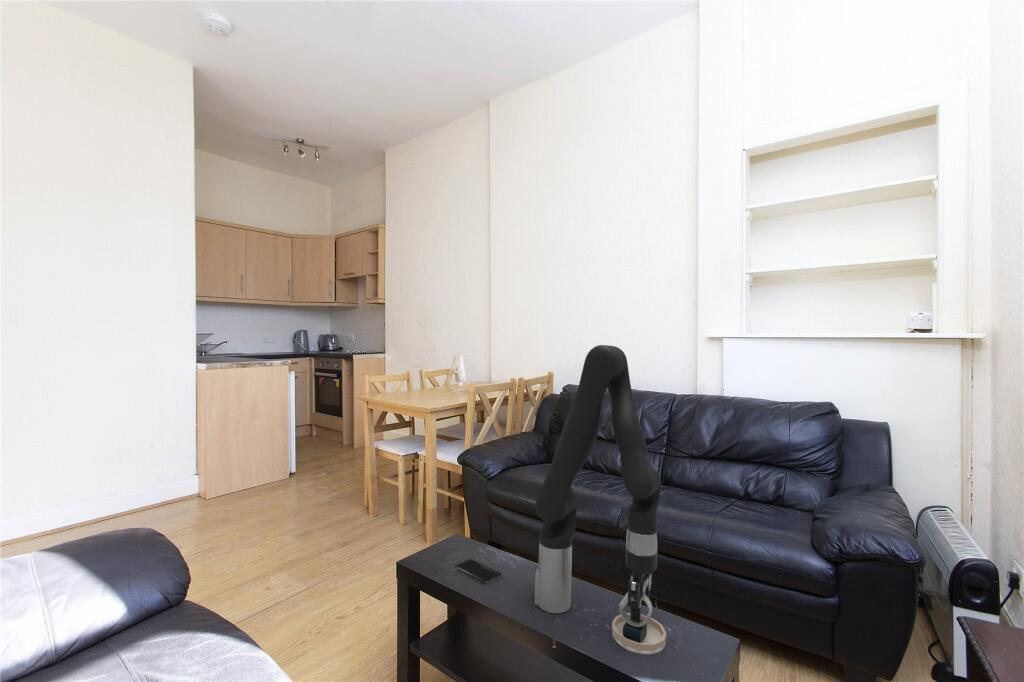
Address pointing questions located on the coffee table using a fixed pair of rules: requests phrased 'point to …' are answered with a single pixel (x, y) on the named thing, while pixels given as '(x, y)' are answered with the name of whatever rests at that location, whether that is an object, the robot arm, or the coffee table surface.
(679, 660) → the coffee table surface
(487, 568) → the phone
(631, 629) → the watch
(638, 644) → the dish
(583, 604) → the coffee table surface
